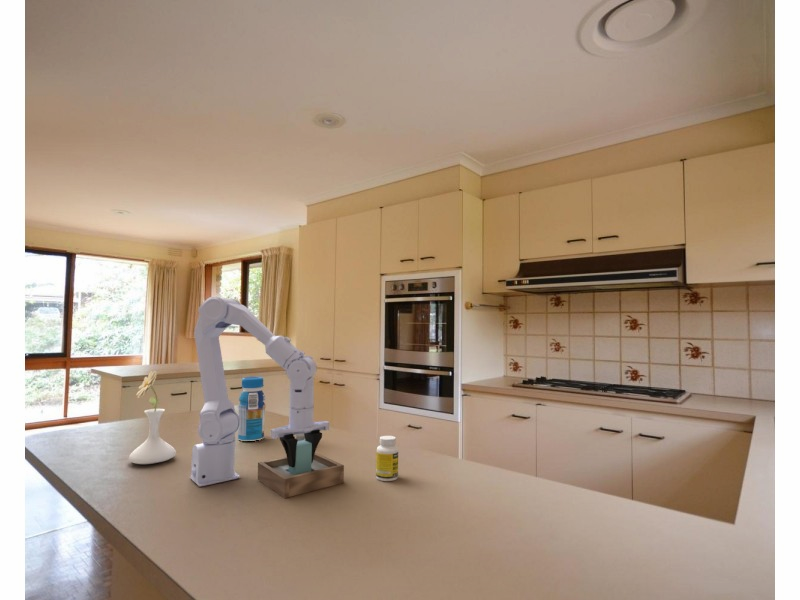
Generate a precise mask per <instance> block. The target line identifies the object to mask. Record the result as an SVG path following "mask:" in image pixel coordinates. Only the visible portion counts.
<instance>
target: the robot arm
mask: <svg viewBox="0 0 800 600" xmlns="http://www.w3.org/2000/svg"><path fill="white" fill-rule="evenodd" d="M197 310H198V318H197V321H196V325H195V328H194V335H193V337H194V342H195V348H196V355H197V359H198V368H199V373H200V375H199V376H200V380H201V388H202V394H203V400H204V401H203V402H204V404H203V407H202V408H201V410H200V412H199V424H198V427H197V428H198V429H197V432H198V436H199V438H200V439H201V441H202V442H201V443H197V444H194V445H193V446H192V451H191V466H190V467H191V470H190V477H189V478H190V479H191V480H192V482H194V483H195V484H196V485H197V486H198V487H204V486H209V485H214V484H218V483H224V482H228V481H232V480H238V479H241V475H239V474H238V473H237V472H236V471H235V459H236V458H235V457H236V455H235V454H236V432H237V431H238V429H239V426H240V418H239V413H237V411H236V408H235V404H234V403H233V402H232V401H231V400H230V399H229V395H228V389H227V388H228V387H227V383H226V376H225V369H224V364H223V363H224V362H223V357H222V350H221V343H220V337H221V335H222V333H224V331H225V330H226V329H227V328H228V327H230V326H231V325H235V326H239V327H242V328H243V329H244V330H245V331H247V332H248V333H249V334H250V335H251V336H253V337H254V339H257V340H258V341H259V342H260V343H262V345H264V347H265V354H266V355H267V356H268V357H270V358H271V359H272V360H273V361H274V362H275V363H276V364H277V365H278V366H279V367H281V368H282V369H283V370H284V371H285V374H286V376H287V378H288V379H289V380H290V381H289V410H288V411H289V413H288V415H289V416H288V417H289V419H288V424H287V425H283V426H280V427H275V428H270V438H272V439H273V440H277V439H279V441H280V443H281V445H282V446H283V449H284V452H285V456H286V457H287V459H288V465H289V466H290V467H295V461H296V446H297V442H298V440H297V439H296V435H297V434H303V433H304V436H305V441H307V442H310V443H312V462H313V458H314V454H315V452H316V450H317V447H318V445H319V444H320V442H321V439H322V438H323V433H322V432H321V431H329V430H330V421H327V420H324V421H314V402H315V401H314V400H315V399H314V398H315V396H314V395H315V388H314V385H315V383H314V380H315V379H314V377H315V375H316V373H317V371H318V369H317V368H318V366H317V363H316V361H315V360H314V358H313V357H312V356H308V355H305V352H304V351H303V350H299V349H298V348H297V347H296V346H295V345H294V344H292V339H291V338H290V337H288V336H285V337H284V335H275V334H274V333H273V332H272V331H271V330H270V329H269V328H268V327H267V326H265V324H263V322H262V321H260V319H258V317H257V316H256V315H255V314H254V313H252V311H250V310H249V308H248V307H247V306H246V305H244V304H241V302H240V301H239V300H237V299H235V298H225V297H221V296H216V295H214V296H210V297H208V298H206V299H205V300H204V302H203V303H202V304H201V305H200V306H199V307H198V308H197Z"/></svg>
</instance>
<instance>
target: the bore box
mask: <svg viewBox="0 0 800 600" xmlns="http://www.w3.org/2000/svg"><path fill="white" fill-rule="evenodd" d="M344 469H345V465H344V464H342V463H341V462H340V463H339V462H338V461H335V460H333V459H330V458H329V457H327V456H324V455H321V454H319V453H318V452H316V451H315V454H314V458H313V462H312V464H311V472H307V473H302V474H298V475H293V474H291V473H289V472H288V470H289V465H288V459H287V456H283V457H278V458H273V459H268V460H264V461H258V462H257V480H258V481H259V482H261V484H263V485H265V486H266V487H268V488H269V489H271V490H272V491H273V492H275V493H277V494H278V495H279V496H281V497H282V498H283V499H285V498H286V499H287V498H290V497H293V496H294V497H295V496H297V495H302V494H306V493H309V492H314V491H317V490H320V489H325V488H328V487H332V486H335V485H340V484H344V482H345V481H344V479H345V470H344Z"/></svg>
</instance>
